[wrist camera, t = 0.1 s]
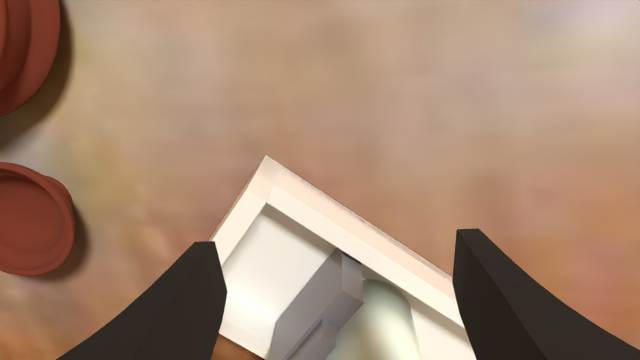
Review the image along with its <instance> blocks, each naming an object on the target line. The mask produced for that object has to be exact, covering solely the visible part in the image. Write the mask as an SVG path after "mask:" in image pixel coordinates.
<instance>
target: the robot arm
mask: <svg viewBox="0 0 640 360" xmlns="http://www.w3.org/2000/svg"><path fill="white" fill-rule="evenodd" d="M452 284H453V288H454V293H455V297H456V301H457V305H458V309H459V314H460V316H461V319H462V322H463V325H464V327H465V330H466V333H467V336H468V338H469V341H470V344H471V346H472V349H473V352H474V354H475V357H476V360H640V350H638V349H636V348H635V347H633V346H631V345H629V344H627V343H626V342H624V341H622V340H621V339H619V338H617V337H615V336H614V335H612V334H610V333H609V332H607V331H605V330H604V329H602V328H600V327H599V326H597V325H596V324H594V323H592V322H591V321H589V320H588V319H586V318H585V317H584V316H582V315H581V314H579V313H578V312H576V311H575V310H573V309H572V308H570V307H569V306H567V305H566V304H565V303H563V302H562V301H560V300H559V299H558V298H556V297H555V296H554V295H553V294H551V293H550V292H549V291H548V290H546V289H545V288H544V287H542V286H541V285H540V284H539V283H537V282H536V281H535V280H534V279H533V278H531V277H530V276H529V275H528V274H527V273H526V272H525V271H523V270H522V269H521V268H520V267H519V266H518V265H517V264H515V263H514V262H513V261H512V260H511V259H510V258H509V257H508V256H507V255H506V254H505V253H504V252H503V251H501V250H500V249H499V248H498V247H497V246H496V245H495V244H494V243H493V242H492V241H491V240H490V239H489V238H488V237H487V236H486V235H485V234H484V233H483V232H482V231H480V230H479V229H458V230H457V234H456V245H455V257H454V268H453V279H452ZM227 292H228V291H227V287H226V283H225V279H224V276H223V272H222V268H221V264H220V260H219V256H218V252H217V248H216V244H215V241H207V242H195V243H194V244H193V245H192V246H190V247H189V248H188V249H187V250H186V251H185V252H184V253H183V254H182V255H181V256H180V257H179V259H178V260H177V261H176V262H175V263H174V264H173V265H172V266H171V267H170V268H169V269H168V270H167V271H166V272H165V273H164V274H163V275H161V276H160V277H159V278H158V279H157V280H156V281H155V282H154V283H153V284H152V285H151V286H150V287H149V288H148V289H147V290H146V291H145V292H144V293H143V294H141V295H140V296H139V297H138V298H137V299H136V300H135V301H134V302H132V303H131V304H130V305H129V306H128V307H127V308H126V309H125V310H124V311H122V312H121V313H120V314H119V315H118V316H116V317H115V318H114V319H113V320H111V321H110V322H109V323H108V324H106V325H105V326H104V327H102V328H101V329H100V330H98V331H97V332H96V333H94V334H93V335H92V336H90V337H89V338H88V339H86V340H85V341H83V342H82V343H80V344H79V345H77V346H76V347H74V348H73V349H71V350H70V351H68V352H67V353H65V354H64V355H62V356H61V357H59V358H58V359H56V360H210V358H211V355H212V352H213V349H214V346H215V343H216V340H217V337H218V333H219V330H220V327H221V324H222V320H223V314H224V309H225V304H226V298H227Z"/></svg>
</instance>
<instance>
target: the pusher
mask: <svg viewBox="0 0 640 360" xmlns="http://www.w3.org/2000/svg"><path fill="white" fill-rule="evenodd" d="M363 304H364V298H363V284H362V269H361V262H360V261H358V260H357V259H355V258H353V257H352V256H350V255H349V254H347V253H346V252H344V251H342V250H341V249H339V248H338V247H337V248H336V249H335V250H334V251H333V252H332V254H331V255H330V256H329V257H328V259H327V260H326V261H325V262H324V264H323V265H322V266H321V267H320V269H319V270H318V271H317V272H316V273H315V275H314V276H313V277H312V278H311V280H310V281H309V282H308V283H307V285H306V286H305V287H304V288H303V290H302V291H301V292H300V293H299V294H298V296H297V297H296V298H295V299H294V301H293V302H292V303H291V304H290V306H289V307H288V308H287V309H286V311H285V312H284V313H283V314H282V315H281V317H280V318H279V319H278V320H277V323H276V327H275V332H274V336H273V341H272V346H271V350H270V355H269V359H268V360H324V359H325V358H326V357H327V356H328V355H329V354H330V353H331V351H332V350H333V349H334V348H335V347H336V346H337V333H338V332H339V331H340V329H341V328H342V327H343V326H344V325H345V324H346V323H347V322H348V320H349V319H350V318H351V317H352V316H353V315H354V314H355V313H356V311H357V310H358V309H359V308H360V307H361V306H362V305H363Z"/></svg>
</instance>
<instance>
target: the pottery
mask: <svg viewBox="0 0 640 360" xmlns="http://www.w3.org/2000/svg"><path fill="white" fill-rule="evenodd" d="M59 35H60V7H59V0H0V116H2V115H4V114H7V113H9V112H11V111H13V110H15V109H16V108H18V107H19V106H21V105H22V104H24V103H25V102H26V101H27V100H29V99H30V98H31V97H32V96H33V95H34V94H35V93H36V92H37V90H38V89H39V88H40V87H41V85H42V84H43V82H44V81H45V79H46V77H47V76H48V74H49V72H50V69H51V67H52V65H53V62H54V59H55V56H56V52H57V48H58V43H59ZM72 207H73V203H72V198H71V195H70V193H69V192H68V190H67V189H66V188H65V186H64V185H63V184H61V183H60V182H59V181H57V180H56V179H54V178H52V177H49V176H44V175H42V174H40V173H38V172H36V171H34V170H32V169H30V168H27V167H25V166H21V165H18V164H13V163H5V162H0V271H3V272H6V273H9V274H14V275H20V276H35V275H41V274H45V273H47V272H50V271H52V270H54V269H56V268H57V267H58V266H60V265H61V264H62V263H63V262H64V261H65V260H66V258H67V257H68V255H69V254H70V252H71V249H72V247H73V243H74V239H75V232H76V226H75V218H74V214H73V211H72Z"/></svg>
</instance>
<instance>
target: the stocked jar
mask: <svg viewBox="0 0 640 360" xmlns="http://www.w3.org/2000/svg"><path fill="white" fill-rule="evenodd" d="M362 284H363V298H364V304H363V305H362V306H361V307H360V308H359V309H358V310H357V311H356V313H355V314H354V315H353V316H352V317H351V318H350V319H349V320H348V322H347V323H346V324H345V325H344V326H343V327H342V328H341V329H340V331H339V332H338V333H337V346H336V347H335V348H334V349H333V350H332V351H331V353H330V354H329V355H328V356H327V357H326V358H325V359H324V360H422V356H421V352H420V348H419V343H418V339H417V334H416V330H415V326H414V321H413V317H412V312H411V308H410V305H409V302H408V300H407V299H406V297H405V296H404V295H403V293H402V292H401V291H400V290H398V289H397V288H396V287H394V286H392V285H390V284H388V283H386V282H383V281H379V280H370V279H366V280H362Z"/></svg>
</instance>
